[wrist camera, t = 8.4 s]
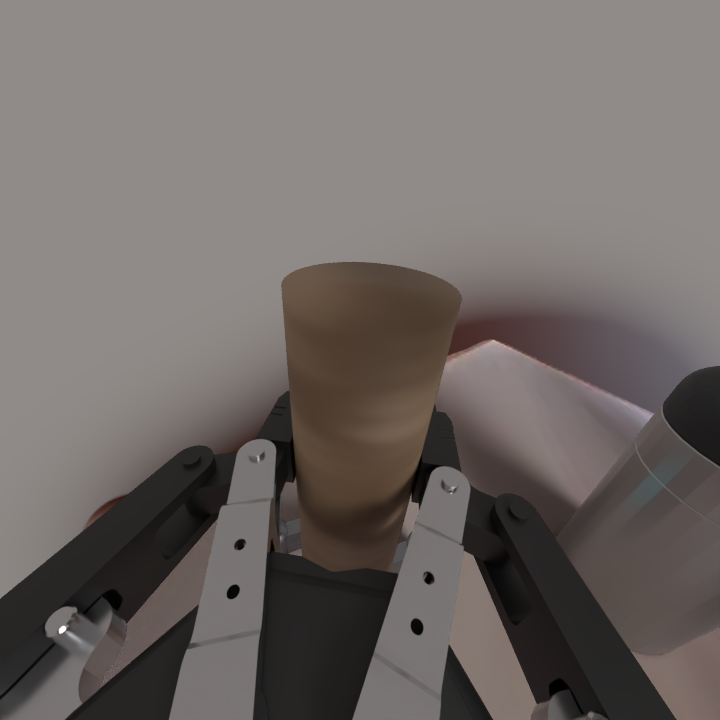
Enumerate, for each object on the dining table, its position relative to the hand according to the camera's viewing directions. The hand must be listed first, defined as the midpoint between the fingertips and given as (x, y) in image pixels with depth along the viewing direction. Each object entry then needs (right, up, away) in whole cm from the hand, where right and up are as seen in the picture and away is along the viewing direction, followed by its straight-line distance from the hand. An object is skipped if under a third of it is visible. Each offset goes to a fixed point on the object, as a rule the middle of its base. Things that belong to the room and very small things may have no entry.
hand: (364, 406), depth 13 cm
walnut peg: (-1, -9, +3) cm, 10 cm away
